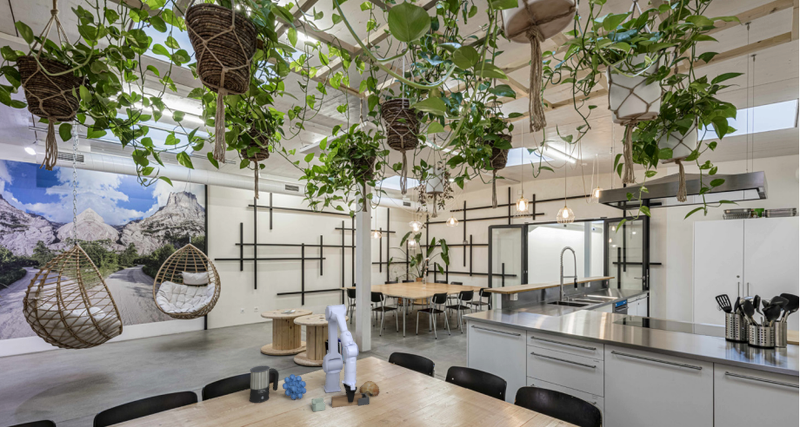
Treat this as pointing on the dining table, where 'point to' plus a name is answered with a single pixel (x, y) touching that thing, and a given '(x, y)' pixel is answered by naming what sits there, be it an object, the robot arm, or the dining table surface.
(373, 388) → the bread roll
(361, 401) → the fixed cap
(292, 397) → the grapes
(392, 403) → the dining table surface
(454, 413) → the dining table surface
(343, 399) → the slat
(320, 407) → the sliding cap
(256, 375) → the milk frother
